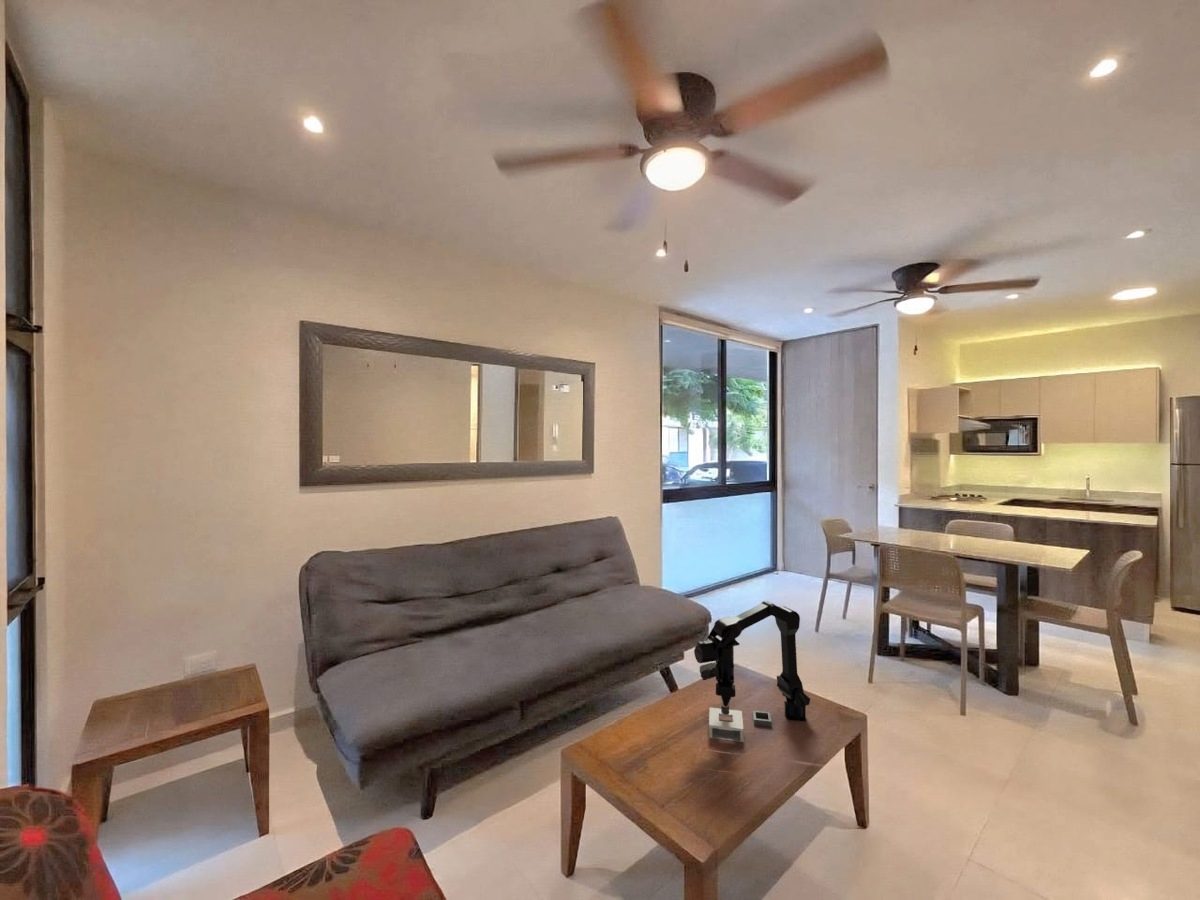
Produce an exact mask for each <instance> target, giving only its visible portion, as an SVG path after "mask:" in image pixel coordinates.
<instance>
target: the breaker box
mask: <svg viewBox="0 0 1200 900" xmlns="http://www.w3.org/2000/svg"><path fill="white" fill-rule="evenodd" d="M720 716H721V717H728V718H732V720H723V719H720ZM708 717H709V720H708V737H709V739H713V740H722V741H729V742H737V743H744V722H743V721H744V720H743V711H742V710H738V709H737V710H736V709H729V714H723V713H722V712H721V708H718V707H709V716H708Z"/></svg>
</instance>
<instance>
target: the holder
mask: <svg viewBox="0 0 1200 900" xmlns="http://www.w3.org/2000/svg"><path fill="white" fill-rule="evenodd" d="M752 721H753V725H754V726H761V727H770V728H772V723H773V721H772V717H771V712H769V711H763V710H752Z"/></svg>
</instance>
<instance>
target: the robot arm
mask: <svg viewBox="0 0 1200 900" xmlns="http://www.w3.org/2000/svg"><path fill="white" fill-rule="evenodd" d="M771 616H772V617H774V619H775V624H776V626H777V628H778V630H779V632H780V644H781V645H780V647H781V662H782V663H781V664H782V665H781V666H782V668H781V669H782V672H781V673H780V675H776V682H777V683H776V687H777V688H778V690H779V692H781V694H782V696H783V697H785V700H784V702H783V706H784V707H783V709H784V711H783V713H784V716H785V717H786V719H787V720H788V721H797V722H807V717H806V707H807V706H809V705H810V702H811V698H810V697H809V696H808V695H807V694H806V693H805V692H804V687H803V682H802V680H801V678H800V676H799V674H798V663H797V662H798V661H797V643H796V642H797V641H796V634H797V632H798V631H799V628H800V624H801V623H800V622H801V616H800V614H799V613H798V612H797V611H795V610H793V609H791V608H789V607H787V606H784V605H781V606H778V605H776V604H774V603H773V602H770V601H768V600H763V601H761V603H759V604H758V605H756V606H753V607H751V608H750V609H748V610H746V611H743V612H742V613H740V614H738V615H735V616H726V617H723V618H719V619H717V620H716V621H715V622H714V624H713V627H712V628H711V630H710V632H709V633H708V635H707V637H706V639H707V640H702V641H701V640H699V641H697V642H696V643H697V644H696V645H695V647H694V651H693V652H694V653H693V654H694V658H695V660H696V662H697V663H699V664H701V665H700V666H699V673H700V678H701V679H702V681H708V680H709V679H710V680H711V679H713V678H715V680H716V683H715V695H716V696H719V697H721V696H722V700H723V705H724V706H727V705H728V703H729V704H730V702H731V699H732V698H735V697H736V685H735V663H734V662H735V661H734V660H735V656H734V649H735V648H734V647H736V646H737V647H738V646H740V643H739V642H738V641H737V640H736V639H737V638H738V637H740V636H741V634H742V632H743V631H745V629H747V628H749V627H751V626H753V625H756V624H757V623H759V622H761V621H762V620H765V619H766V618H767V619H768V617H771ZM717 636H718V637H717ZM703 663H704V664H703Z"/></svg>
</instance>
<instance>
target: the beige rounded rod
mask: <svg viewBox="0 0 1200 900" xmlns="http://www.w3.org/2000/svg"><path fill="white" fill-rule="evenodd" d="M720 706H721V708H720V709H721V712H722V713H723V714H729V710H730V702H729V703H728V705H727V706H724V705H723V700H722V696H720Z"/></svg>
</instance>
